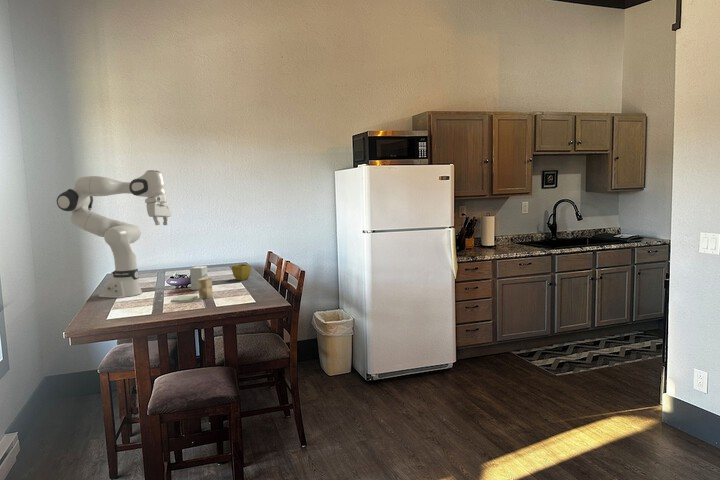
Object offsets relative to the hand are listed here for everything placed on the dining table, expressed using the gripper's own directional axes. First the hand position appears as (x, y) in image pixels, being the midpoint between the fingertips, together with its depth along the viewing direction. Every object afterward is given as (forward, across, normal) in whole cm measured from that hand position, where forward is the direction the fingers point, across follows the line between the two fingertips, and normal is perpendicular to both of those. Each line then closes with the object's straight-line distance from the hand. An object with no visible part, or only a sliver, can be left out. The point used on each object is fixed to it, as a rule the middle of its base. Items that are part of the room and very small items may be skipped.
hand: (161, 225), depth 293 cm
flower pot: (+38, -45, +25) cm, 64 cm away
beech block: (+42, +4, +20) cm, 47 cm away
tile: (+41, +9, +10) cm, 43 cm away
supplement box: (+38, -20, +8) cm, 44 cm away
